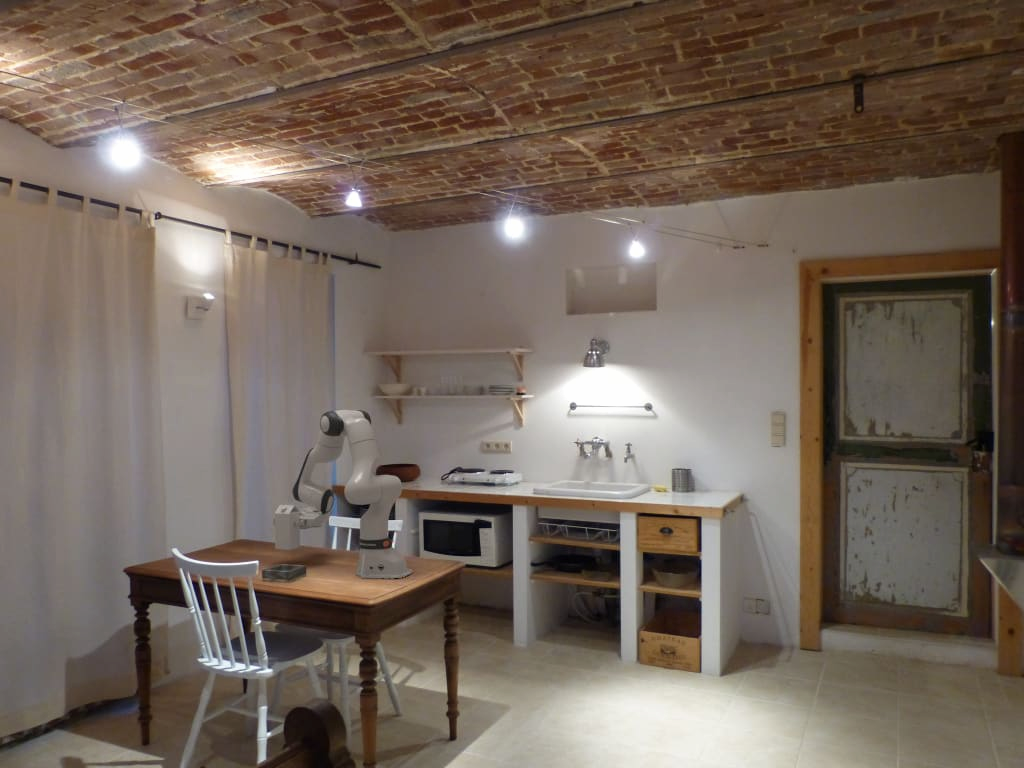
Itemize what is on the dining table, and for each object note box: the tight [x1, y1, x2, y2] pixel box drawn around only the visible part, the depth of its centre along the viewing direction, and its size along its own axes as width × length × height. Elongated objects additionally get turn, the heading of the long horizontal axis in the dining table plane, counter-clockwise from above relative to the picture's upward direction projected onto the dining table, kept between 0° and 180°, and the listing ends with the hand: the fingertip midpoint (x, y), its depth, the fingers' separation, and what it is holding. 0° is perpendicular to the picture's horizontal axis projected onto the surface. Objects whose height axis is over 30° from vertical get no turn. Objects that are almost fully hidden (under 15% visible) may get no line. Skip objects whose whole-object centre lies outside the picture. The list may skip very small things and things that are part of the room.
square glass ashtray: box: [261, 563, 307, 583], centre depth 298 cm, size 12×12×4 cm
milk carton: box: [274, 501, 301, 551], centre depth 316 cm, size 7×7×19 cm
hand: (286, 523), depth 315 cm, fingers closed on milk carton, 7 cm apart
